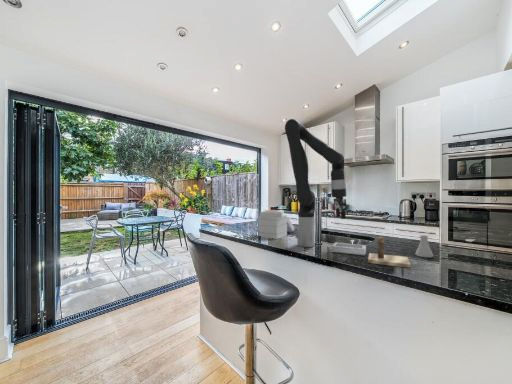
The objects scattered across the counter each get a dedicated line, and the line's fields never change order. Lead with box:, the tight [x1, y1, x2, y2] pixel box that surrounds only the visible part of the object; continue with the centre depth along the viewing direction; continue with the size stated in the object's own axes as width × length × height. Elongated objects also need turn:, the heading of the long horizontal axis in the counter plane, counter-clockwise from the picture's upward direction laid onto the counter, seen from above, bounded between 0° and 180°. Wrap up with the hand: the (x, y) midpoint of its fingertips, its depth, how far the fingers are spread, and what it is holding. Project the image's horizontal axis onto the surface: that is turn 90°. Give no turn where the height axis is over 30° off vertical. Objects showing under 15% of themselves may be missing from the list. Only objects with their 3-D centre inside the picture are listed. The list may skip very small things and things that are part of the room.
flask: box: [414, 234, 434, 258], centre depth 117 cm, size 7×7×10 cm
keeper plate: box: [367, 236, 411, 269], centre depth 108 cm, size 16×12×11 cm
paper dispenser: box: [257, 209, 295, 240], centre depth 174 cm, size 19×30×18 cm, turn 146°
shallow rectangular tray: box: [331, 242, 367, 256], centre depth 127 cm, size 16×10×3 cm, turn 62°
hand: (340, 217), depth 130 cm, fingers open, 8 cm apart
